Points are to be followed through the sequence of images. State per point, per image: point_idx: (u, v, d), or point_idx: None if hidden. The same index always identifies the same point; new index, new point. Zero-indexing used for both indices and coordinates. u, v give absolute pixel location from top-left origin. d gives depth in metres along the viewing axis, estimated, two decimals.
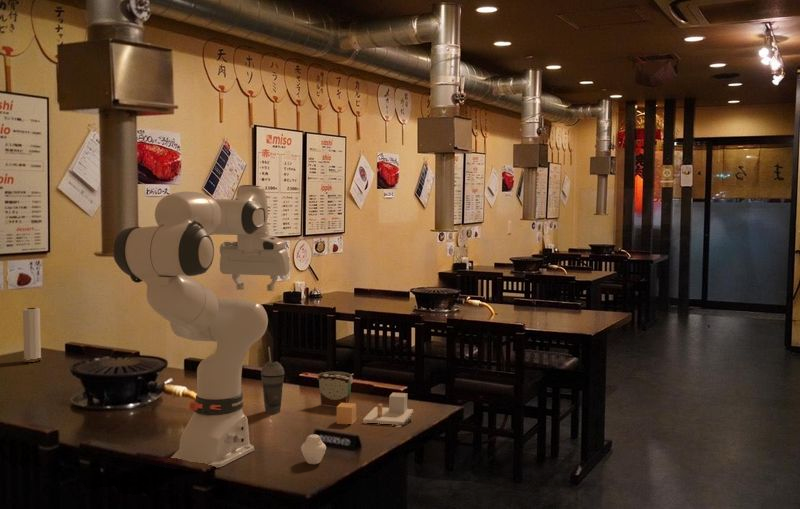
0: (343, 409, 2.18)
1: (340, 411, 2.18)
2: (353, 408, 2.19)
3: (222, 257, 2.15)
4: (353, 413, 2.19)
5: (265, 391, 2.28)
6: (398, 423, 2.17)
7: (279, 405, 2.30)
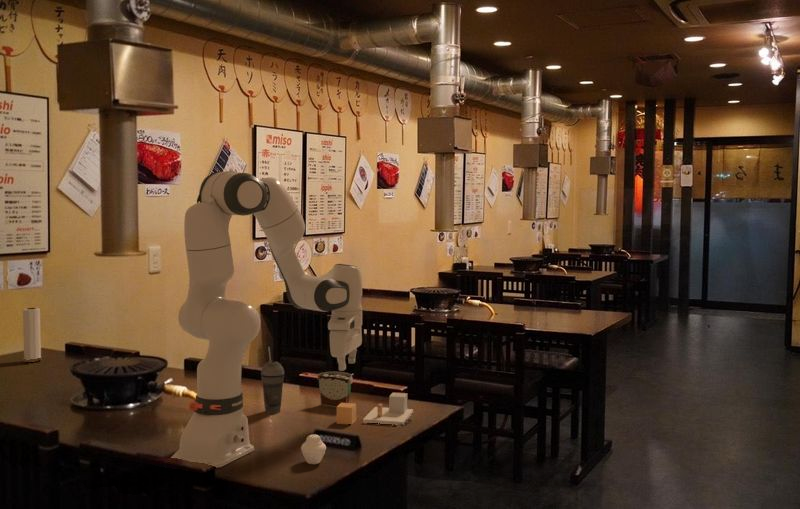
0: (343, 409, 2.18)
1: (340, 411, 2.18)
2: (353, 408, 2.19)
3: None
4: (353, 413, 2.19)
5: (265, 391, 2.28)
6: (398, 423, 2.17)
7: (279, 405, 2.30)
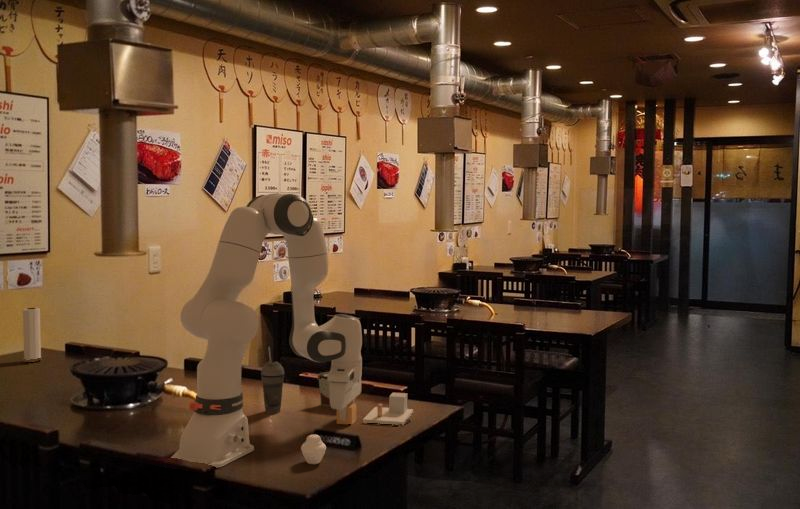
0: None
1: None
2: (353, 408, 2.19)
3: None
4: (353, 413, 2.19)
5: (265, 391, 2.28)
6: (398, 423, 2.17)
7: (279, 405, 2.30)
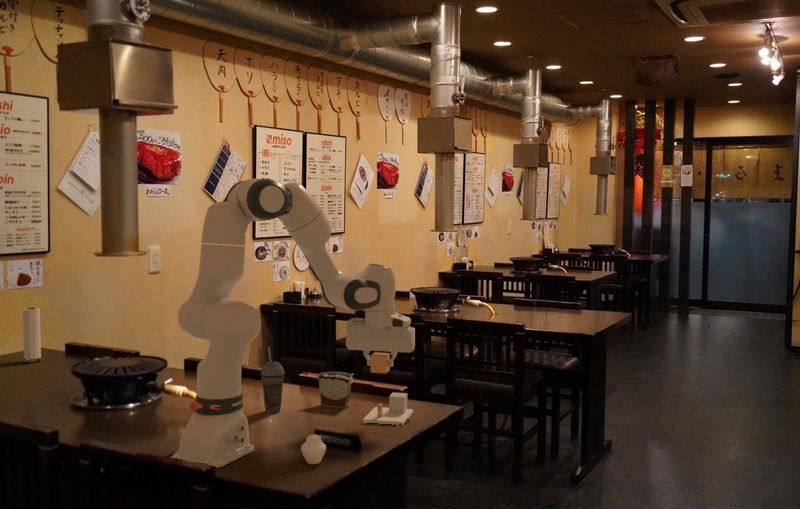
0: (387, 357, 2.21)
1: (386, 360, 2.20)
2: None
3: (349, 333, 2.21)
4: None
5: (265, 391, 2.28)
6: (398, 423, 2.17)
7: (279, 405, 2.30)
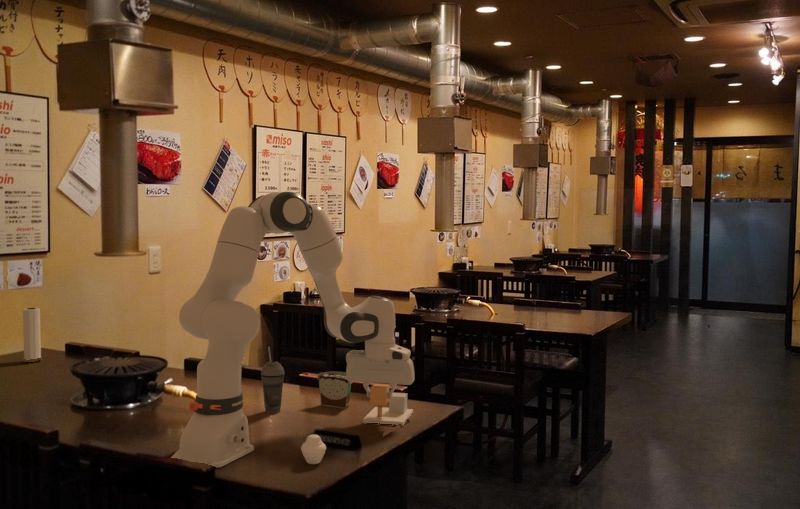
0: (387, 389, 2.21)
1: (386, 392, 2.21)
2: None
3: (349, 365, 2.22)
4: None
5: (265, 391, 2.28)
6: (398, 423, 2.17)
7: (279, 405, 2.30)
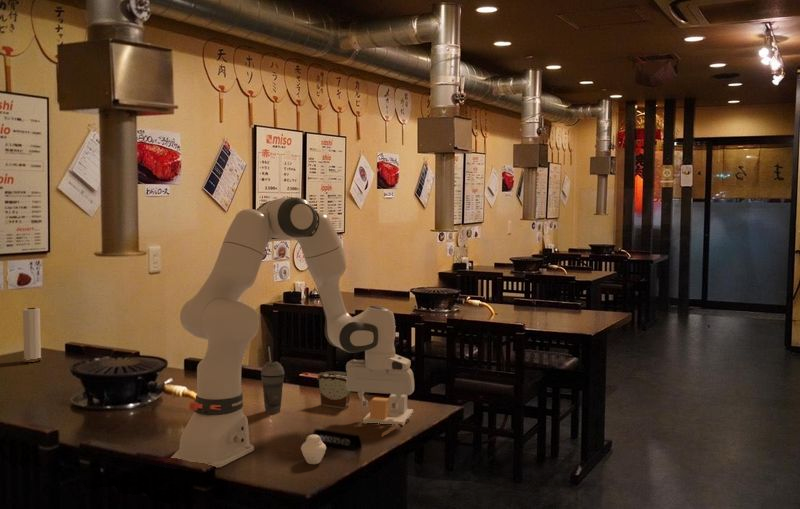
0: (387, 402, 2.21)
1: (386, 405, 2.21)
2: None
3: (349, 375, 2.22)
4: None
5: (265, 391, 2.28)
6: (398, 423, 2.17)
7: (279, 405, 2.30)
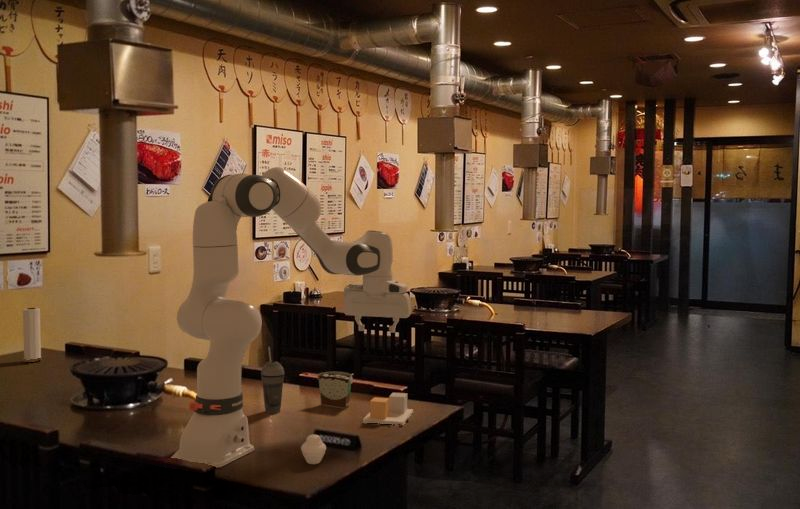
0: (387, 402, 2.21)
1: (386, 405, 2.21)
2: None
3: (347, 299, 2.25)
4: None
5: (265, 391, 2.28)
6: (398, 423, 2.17)
7: (279, 405, 2.30)
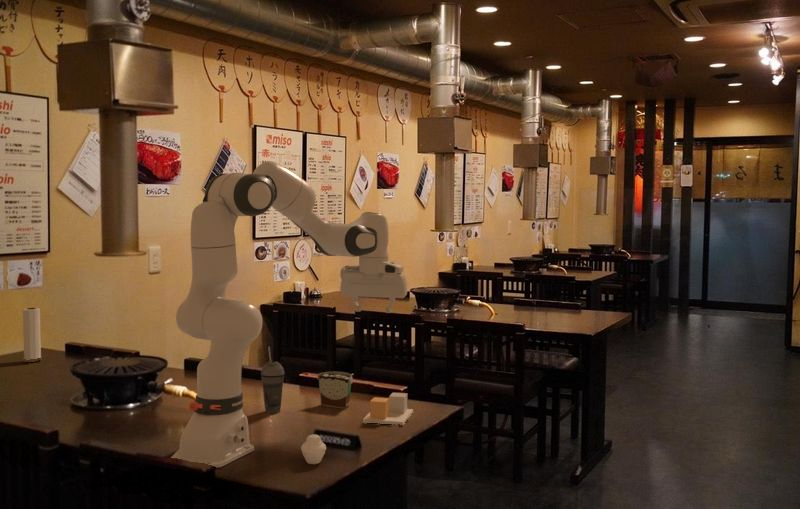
0: (387, 402, 2.21)
1: (386, 405, 2.21)
2: None
3: (343, 280, 2.28)
4: None
5: (265, 391, 2.28)
6: (398, 423, 2.17)
7: (279, 405, 2.30)
